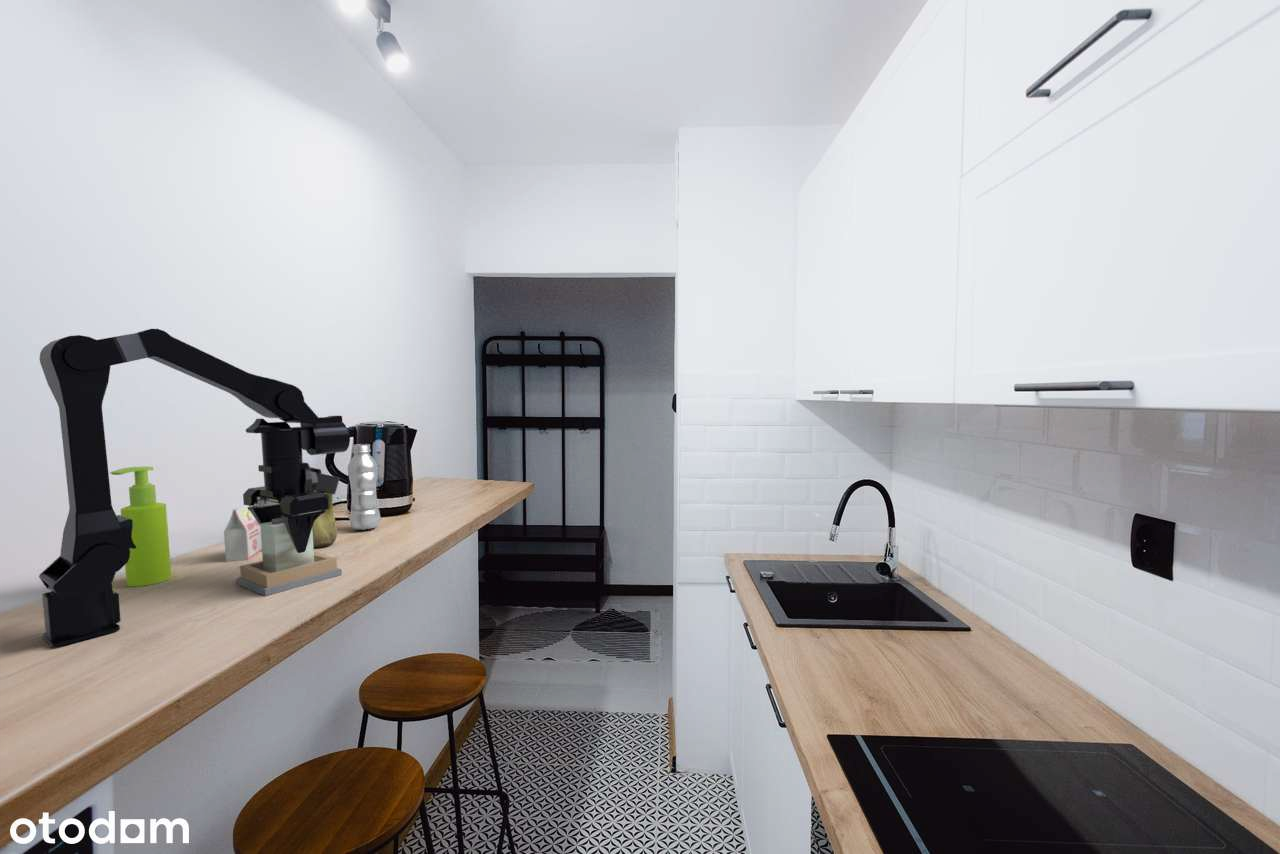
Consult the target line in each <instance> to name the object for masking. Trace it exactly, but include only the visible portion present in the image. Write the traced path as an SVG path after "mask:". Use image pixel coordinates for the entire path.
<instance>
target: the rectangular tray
mask: <svg viewBox="0 0 1280 854" xmlns="http://www.w3.org/2000/svg"><path fill="white" fill-rule="evenodd" d="M239 570H240V577H236V579H235V580H236V581H235V582H236V585H238V586H241V587H244V588H246V589H248V590H250V591H253V592H254V593H257V594H261V595H262V596H265V597H267V596H269V595H270V596H271V595H274V594H277V593H280V592H281V593H282V592H285V591H289V590H291V589H295V588H299V587H304V586H307V585H310V584H315V583H317V582H321V581H324V580H328V579H332V578H335V577H339V576H342V569H341V568H339V567H338V565H337V557H333V556H330V555H326V554H322V553H320V552H315V551H314V562H313V563H309V564H305V565H301V566H297V567H293V568H289V569H285V570H281V571H277V572H273V573H269V572H266V571H263V560H259V561H256V562H251V563H247V564H244V565H240V566H239Z"/></svg>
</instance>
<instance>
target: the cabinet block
mask: <svg viewBox="0 0 1280 854" xmlns="http://www.w3.org/2000/svg"><path fill="white" fill-rule="evenodd" d="M260 529H261V544H262V551H261V554H262V561H263V571H266V572H269V573H273V572H277V571H281V570H285V569H289V568H293V567H297V566H301V565H305V564H309V563H313V562H314V552H315V551H314V548H315V547H313V531H312V530H311V533H310V537H309V540H308V544H307V547H306V551H305V552H302V553H298V552H297V551H296V549H295V547H294V544H293V542H292V540H291V538H290V535H289V533H288V531H287V528H286V526H285V524H284V522H283V520H282V518H276V519H272V522H267V523H262V524H260Z"/></svg>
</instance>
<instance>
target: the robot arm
mask: <svg viewBox="0 0 1280 854" xmlns="http://www.w3.org/2000/svg"><path fill="white" fill-rule="evenodd" d="M143 359H150V360H153V361H155V362H158V363H159V364H162V365H164V366H166V367H169V368H171V369H174V370H176V371H177V372H181V373H183V374H185V375H187V376H190V377H192V378H194V379H197V380H199V381H201V382H203V383H205V384H208V385H210V386H212V387H215V388H216V389H220V390H222V391H224V392H227V393H228V394H230V395H232V396H233V397H235V398H236V399H238V400H239V401H240V402H241V403H242V404H244V405H245V406H246V407H247V408H249V409H250V410H253V411H254V412H256V413H257V414H259V415H260V416H262V417H265V418H268V419H279V420H281V421H272V422H268V421H266V420H265V419H264V418H256V419H255V420H254V422H253V423H252V424H251V425H250V426H248V427H247V428H246V429H245V432H246V433H247V434H260V437H261V452H262V464H260V465H258V466H257V467H258V472H262V473H263V482H264V486H258V487H257V486H256V487H250V488H247V490H246V491H245V492H244V493H243V494H242V498H243V499H242V500H243V505H248V506H251V507H248V510H250V512H251V513H252V514H253V516H254V517H255V519H256V520H257V522H258V523H259V525H260V524H262V523H267V522H272V519H276V518H282V520H283V522H284V524H285V526H286V528H287V531H288V533H289V535H290V538H291V540H292V542H293V544H294V547H295V549H296V551H297V552H298V553H302V552H305V551H306V547H307V544H308V540H309V537H310V533H311V530H312V527H313V524H314V521H315V520H316V519H317V518H318V517H319V516H320V515H321V514H324V513H325V512H326V509H330V497H329V496H328V495H326V493H329V494H332V495H333V496H334V495H336V492H337V489H338V485H339V481H340V476H339V477H338V476H336V475H335V476H334V475H330V474H325V473H322V470H321V469H320V468H316V467H315V468H314V467H312V466H311V467H310V464H309V462H304V461H303V451H306V453H308V455H310V456H315V455H316V456H317V455H327V454H336V453H345V452H346V451H347V450H348V449H349V446H350V444H351V443H350V442H351V436H350V435H351V434H350V432H349V430H348V427H347V426H346V424H345V423H344V422H343V416H342V415H328V416H324V417H323V416H321V417H319V416H318V415H317V414H316V413H315V412H314V410H313V409H311V407H310V406H309V405H308V404H307V403H306V402H305V398H304V395H303V394H304V393H303V391H302V390H301V389H300V388H299V387H297V386H296V385H295V384H294V385H293V384H290V383H288V382H283V381H280V380H277V379H274V378H271V377H264V376H262V375H261V376H260V375H256V374H254V373H251V372H247V371H245V370H243V369H242V368H239V367H237V366H235V365H232V364H231V363H229V362H226V361H224V360H222V359H220V358H218V357H216V356H214V355H212V354H210V353H207V352H205V351H203V350H201V349H199V348H197V347H195V346H193V345H190V344H189V343H186V342H184V341H182V340H180V339H178V338H176V337H174V336H172V335H170V334H169V333H168V332H167V331H165V330H163V329H159V328H149V329H145V330H141V331H137V332H135V333H129V334H128V333H127V334H124V335H117V336H112V337H105V338H100V339H95V338H92V337H90V336H87V335H80V334H78V335H68V336H65V337H62V338H59V339H58V338H57V339H55V340H52V341H50V342H49V343H48V344H46V345H45V346H44V347H43V348H42V349H41V350H40V353H39V359H38V360H39V362H40V363H39V364H40V366H41V369H42V372H43V375H44V377H45V380H46V382H47V386H48V387H49V389H50V391H51V393H52V395H53V397H54V400H55V402H56V403H57V404H56V405H57V406H58V410H59V421H60V431H61V440H62V449H63V457H64V458H63V459H64V467H65V469H64V470H65V478H66V485H67V496H68V505H69V506H68V507H69V508H68V515H67V518H66V520H65V521H66V522H65V524H64V528H63V530H62V531H63V532H62V539H61V544H60V545H61V547H60V556H59V555H58V557H57V558H56V559H54V561H52V563H51V564H49V565H48V566H47V567H46V568H45V569H44V570H43V571H42V572H41V573H39V574H38V575H39V576H38V578H39V579H40V581H41V582H42V583H43V585H44V586H45V587H46V589H49V590H50V591H49V592H43V593H41V597H42V606H43V617H44V627H45V628H44V629H45V632H43V633H42V634H41V635H42V638H43V639H44V640H45V641H46V642H47V643H48V644H49V646H51V647H52V648H58V647H61V646H62V647H63V646H65V645H68V644H72V643H76V642H81V641H83V640H88V639H91V638H95V637H98V636H102V635H106V634H108V633H109V634H111V633H113V632H116V631H119V630H120V629H121V627H120V625H119V624H118V623H120V622H121V619H122V618H121V609H120V596H119V593H118V592H116V591H115V590H113V581H114V579H115V576H116V573H118V572H119V571H120V570H122V568H123V567H125V564H126V563H127V562H128V560H129V558H130V548H132V549H135V548H136V546H135V544H134V543H133V540H132V527H133V521H132V519H129V518H126V517H124V516H121V514H120V515H119V514H118V515H117V514H116V512H115V510H114V508H113V504H112V497H111V494H112V493H111V485H110V476H109V475H110V472H109V466H108V455H107V446H106V435H105V425H104V415H103V402H104V398H105V395H106V391H107V388H108V384H109V382H110V381H109V379H110V374H111V373H110V371H111V366H116V365H120V364H124V363H125V364H126V363H129V362H134V361H140V360H143ZM290 424H299V425H300V426H295V427H294V426H292V427H291V426H290Z"/></svg>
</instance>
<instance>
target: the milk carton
mask: <svg viewBox="0 0 1280 854" xmlns="http://www.w3.org/2000/svg"><path fill="white" fill-rule="evenodd" d="M248 507H251V506H248V505H244V504H243V505H241V506H239V507H236V508H235V509H232V513H231V516H230V518H229V521H228V522H227V524H226V527H225V529H224V531H223V536H224V538H223V539H224V551H225V562H226V563H230V562H243V561H249V560H250V559H252V558H253V557H254V556H257V555H258V554H259V552H260V553H262V543H261V528H260V525H259V523H258V522H257V520H256V519H255V517H254V516H253V514H252V513H251V512H250V510H248Z"/></svg>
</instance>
